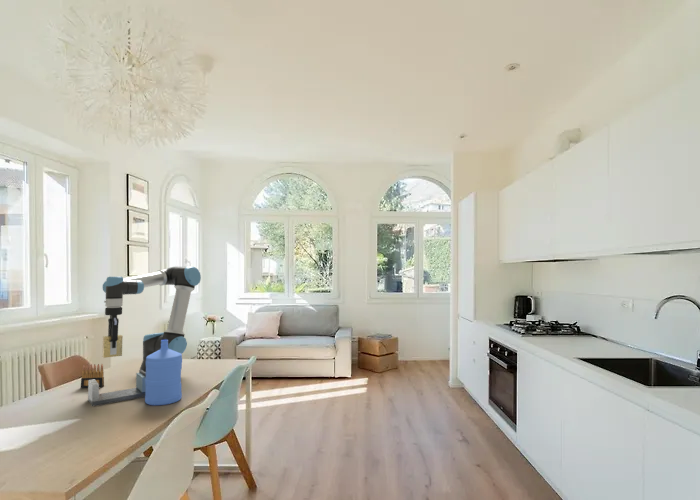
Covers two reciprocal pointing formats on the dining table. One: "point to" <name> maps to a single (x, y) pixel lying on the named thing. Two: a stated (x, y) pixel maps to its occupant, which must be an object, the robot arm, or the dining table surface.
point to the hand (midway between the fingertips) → (112, 353)
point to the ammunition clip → (92, 375)
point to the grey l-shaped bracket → (110, 394)
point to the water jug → (163, 376)
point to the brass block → (107, 346)
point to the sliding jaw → (141, 380)
